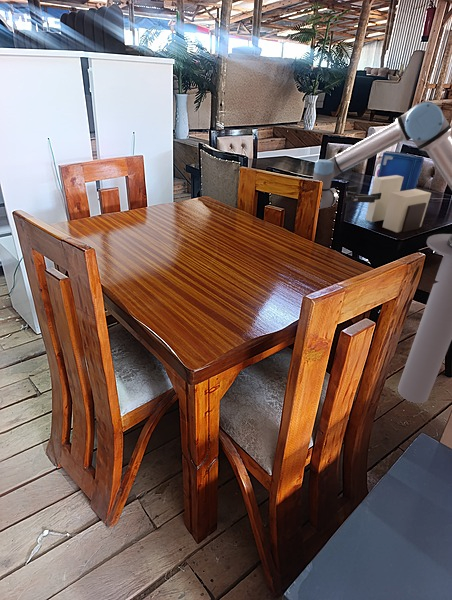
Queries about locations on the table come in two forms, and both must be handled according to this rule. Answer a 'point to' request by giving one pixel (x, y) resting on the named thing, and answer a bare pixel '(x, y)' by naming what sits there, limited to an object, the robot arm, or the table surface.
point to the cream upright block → (406, 210)
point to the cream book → (382, 196)
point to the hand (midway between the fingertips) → (368, 192)
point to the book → (401, 168)
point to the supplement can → (377, 171)
